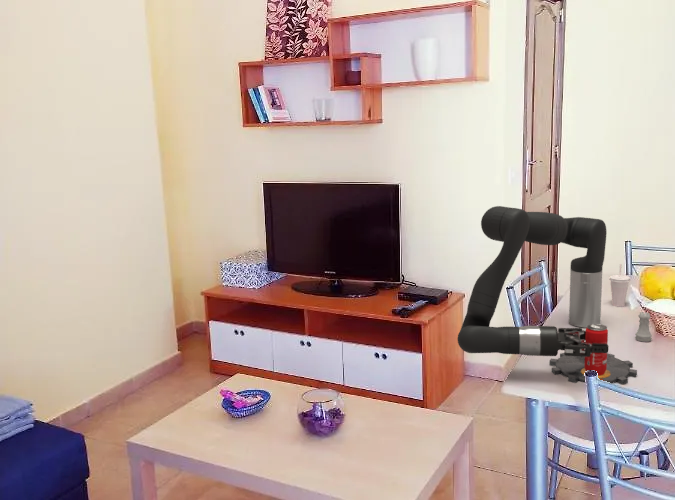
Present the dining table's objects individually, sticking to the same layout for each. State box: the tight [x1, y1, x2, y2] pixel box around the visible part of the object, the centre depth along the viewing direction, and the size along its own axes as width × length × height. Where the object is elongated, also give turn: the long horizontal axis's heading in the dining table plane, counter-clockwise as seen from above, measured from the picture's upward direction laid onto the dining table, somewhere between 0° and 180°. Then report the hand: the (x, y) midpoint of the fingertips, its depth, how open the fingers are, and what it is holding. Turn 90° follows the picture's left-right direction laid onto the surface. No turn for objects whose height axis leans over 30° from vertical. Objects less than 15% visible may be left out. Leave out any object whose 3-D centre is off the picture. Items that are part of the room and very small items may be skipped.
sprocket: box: [548, 352, 638, 385], centre depth 177 cm, size 21×21×3 cm
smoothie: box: [609, 263, 631, 308], centre depth 228 cm, size 6×6×14 cm
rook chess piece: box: [634, 311, 653, 343], centre depth 196 cm, size 4×4×8 cm
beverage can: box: [584, 323, 609, 376], centre depth 171 cm, size 5×5×12 cm
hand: (604, 342), depth 170 cm, fingers open, 8 cm apart
